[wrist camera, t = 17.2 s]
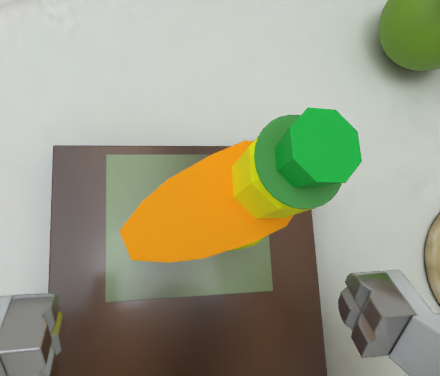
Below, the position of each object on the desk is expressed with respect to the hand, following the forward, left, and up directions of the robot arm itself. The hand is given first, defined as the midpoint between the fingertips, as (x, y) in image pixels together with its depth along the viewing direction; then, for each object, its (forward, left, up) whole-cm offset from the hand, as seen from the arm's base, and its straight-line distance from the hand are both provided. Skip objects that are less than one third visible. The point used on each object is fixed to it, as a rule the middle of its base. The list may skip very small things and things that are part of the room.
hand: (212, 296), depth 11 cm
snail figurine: (+14, +14, -9) cm, 22 cm away
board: (0, 0, -9) cm, 9 cm away
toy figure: (+1, +3, -8) cm, 8 cm away
